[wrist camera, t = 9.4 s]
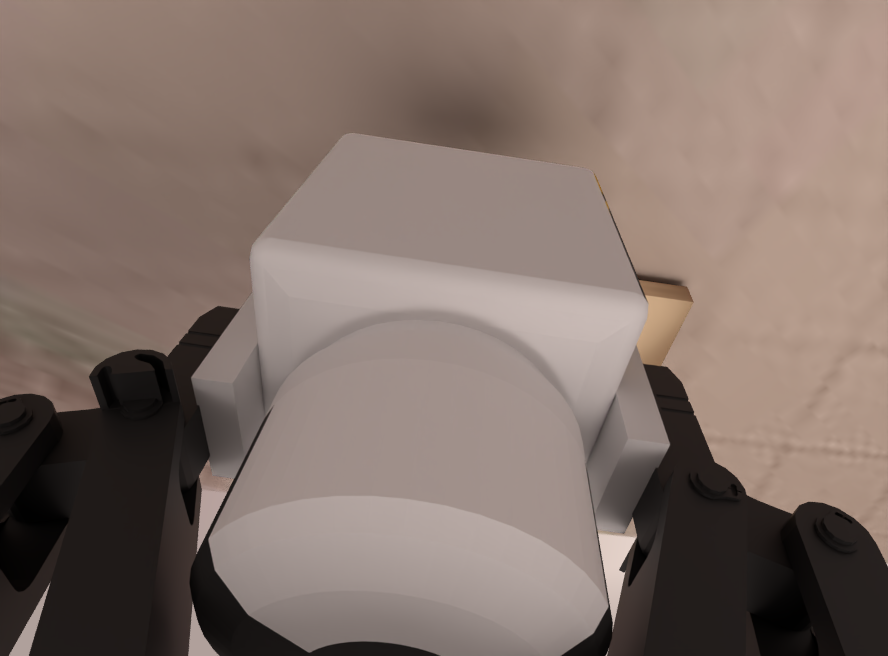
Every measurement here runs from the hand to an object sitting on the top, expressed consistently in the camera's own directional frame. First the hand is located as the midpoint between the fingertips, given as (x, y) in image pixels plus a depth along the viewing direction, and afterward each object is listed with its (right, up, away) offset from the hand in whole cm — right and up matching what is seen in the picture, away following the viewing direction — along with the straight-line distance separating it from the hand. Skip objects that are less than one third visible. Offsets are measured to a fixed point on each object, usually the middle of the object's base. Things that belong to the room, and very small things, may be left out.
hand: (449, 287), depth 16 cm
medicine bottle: (0, +1, +2) cm, 2 cm away
